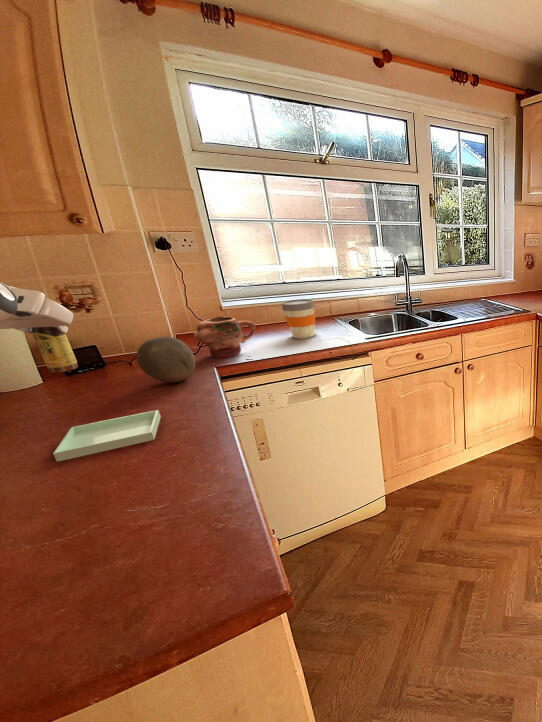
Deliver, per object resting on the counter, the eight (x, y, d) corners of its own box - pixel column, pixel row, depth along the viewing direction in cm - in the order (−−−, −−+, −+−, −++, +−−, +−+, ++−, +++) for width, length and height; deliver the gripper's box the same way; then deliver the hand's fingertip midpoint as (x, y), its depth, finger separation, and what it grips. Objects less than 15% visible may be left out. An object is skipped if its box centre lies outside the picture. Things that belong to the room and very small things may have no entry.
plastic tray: (56, 461, 93) (52, 453, 92) (74, 434, 104) (71, 427, 104) (154, 439, 101) (151, 432, 100) (160, 416, 113) (158, 409, 112)
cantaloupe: (199, 371, 146) (186, 329, 140) (201, 383, 135) (187, 338, 130) (147, 381, 138) (131, 336, 133) (145, 394, 128) (127, 346, 122)
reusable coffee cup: (293, 332, 193) (286, 299, 187) (322, 330, 195) (316, 298, 189) (284, 340, 182) (276, 305, 176) (315, 338, 184) (308, 303, 178)
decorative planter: (255, 345, 175) (247, 311, 170) (264, 351, 167) (255, 316, 162) (198, 355, 163) (187, 320, 158) (204, 363, 154) (192, 325, 149)
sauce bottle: (44, 373, 121) (11, 303, 114) (71, 366, 126) (41, 299, 119) (58, 374, 119) (26, 304, 112) (85, 367, 124) (55, 300, 117)
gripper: (-53, 315, 104) (5, 343, 117) (38, 311, 106) (86, 339, 119) (-42, 294, 107) (14, 323, 119) (47, 291, 109) (92, 320, 121)
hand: (50, 331), depth 119 cm, fingers closed on sauce bottle, 6 cm apart
